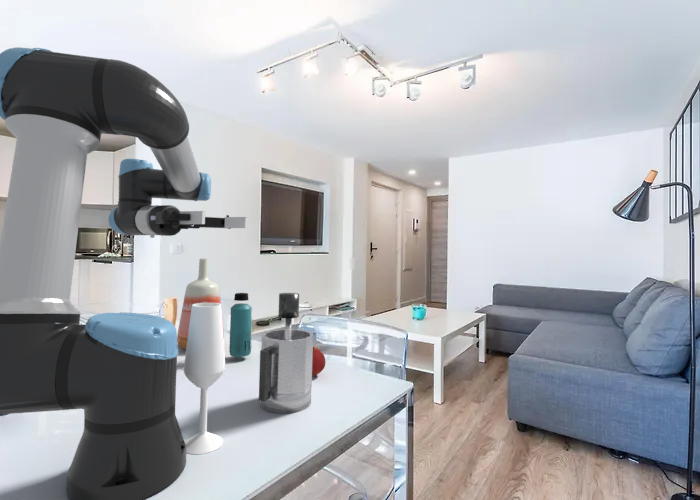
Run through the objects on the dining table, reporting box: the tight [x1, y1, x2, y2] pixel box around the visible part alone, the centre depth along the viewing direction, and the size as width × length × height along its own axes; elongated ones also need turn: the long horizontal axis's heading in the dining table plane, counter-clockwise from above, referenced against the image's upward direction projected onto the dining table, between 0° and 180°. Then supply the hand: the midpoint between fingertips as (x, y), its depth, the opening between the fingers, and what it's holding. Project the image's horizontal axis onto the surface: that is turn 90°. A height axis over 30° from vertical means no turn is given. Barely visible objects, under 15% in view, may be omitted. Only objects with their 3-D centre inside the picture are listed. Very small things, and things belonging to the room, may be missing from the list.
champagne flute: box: [183, 303, 226, 455], centre depth 64 cm, size 7×7×24 cm
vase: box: [177, 258, 225, 351], centre depth 123 cm, size 14×14×30 cm
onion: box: [312, 345, 326, 377], centre depth 99 cm, size 6×6×8 cm
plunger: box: [277, 292, 300, 340], centre depth 82 cm, size 8×8×19 cm
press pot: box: [258, 328, 314, 414], centre depth 80 cm, size 14×11×15 cm
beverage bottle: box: [228, 292, 253, 358], centre depth 112 cm, size 6×7×20 cm
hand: (226, 220), depth 84 cm, fingers open, 13 cm apart
